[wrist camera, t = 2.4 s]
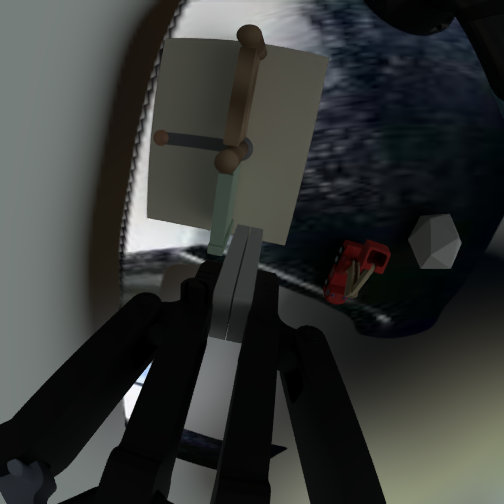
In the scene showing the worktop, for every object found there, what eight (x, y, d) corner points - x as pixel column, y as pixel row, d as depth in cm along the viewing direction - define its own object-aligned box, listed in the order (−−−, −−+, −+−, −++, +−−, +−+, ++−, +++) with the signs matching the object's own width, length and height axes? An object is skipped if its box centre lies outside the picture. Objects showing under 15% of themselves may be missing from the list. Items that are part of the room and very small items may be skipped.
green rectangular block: (230, 158, 36) (217, 173, 28) (244, 161, 36) (233, 176, 28) (221, 224, 41) (207, 253, 34) (233, 227, 41) (221, 256, 34)
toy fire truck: (320, 288, 45) (326, 329, 37) (353, 215, 39) (371, 247, 30) (338, 292, 46) (347, 333, 37) (372, 222, 39) (393, 255, 30)
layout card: (166, 38, 28) (165, 38, 28) (328, 58, 28) (329, 57, 28) (148, 217, 42) (147, 218, 42) (284, 244, 42) (284, 245, 42)
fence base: (250, 44, 28) (238, 23, 19) (268, 46, 28) (263, 26, 19) (230, 154, 36) (212, 171, 27) (247, 157, 36) (235, 175, 27)
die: (391, 235, 40) (418, 288, 35) (416, 201, 32) (451, 261, 28) (423, 227, 41) (449, 274, 37) (448, 195, 34) (480, 247, 29)
